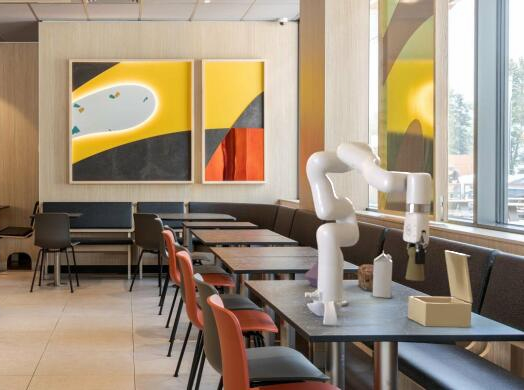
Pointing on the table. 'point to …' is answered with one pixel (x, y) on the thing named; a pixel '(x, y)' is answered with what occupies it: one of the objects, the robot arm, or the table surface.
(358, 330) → the table surface
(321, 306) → the spoon rest
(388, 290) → the milk carton
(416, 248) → the robot arm
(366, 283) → the bread
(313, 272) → the flask
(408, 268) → the cork
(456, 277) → the lid
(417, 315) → the chest
